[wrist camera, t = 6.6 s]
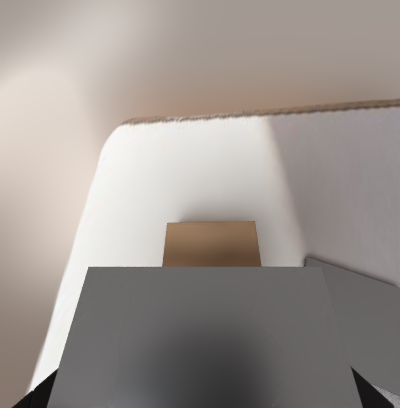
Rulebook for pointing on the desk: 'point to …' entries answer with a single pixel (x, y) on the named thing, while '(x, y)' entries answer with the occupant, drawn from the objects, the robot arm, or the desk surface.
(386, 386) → the pad
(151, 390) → the block
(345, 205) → the desk surface
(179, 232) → the stand
